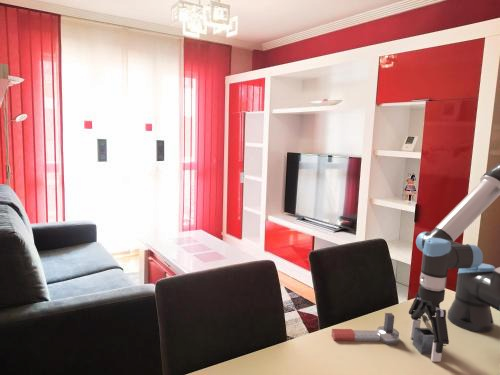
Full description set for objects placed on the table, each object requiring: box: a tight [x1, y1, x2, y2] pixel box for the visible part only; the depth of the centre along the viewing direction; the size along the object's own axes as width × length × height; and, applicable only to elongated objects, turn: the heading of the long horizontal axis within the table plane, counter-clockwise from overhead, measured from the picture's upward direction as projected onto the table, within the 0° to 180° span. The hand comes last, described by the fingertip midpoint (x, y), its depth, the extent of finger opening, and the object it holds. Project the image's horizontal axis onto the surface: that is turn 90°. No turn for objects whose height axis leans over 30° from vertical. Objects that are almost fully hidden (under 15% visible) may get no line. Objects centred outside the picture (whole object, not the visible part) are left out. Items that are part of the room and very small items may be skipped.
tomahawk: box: [421, 314, 447, 347], centre depth 135 cm, size 21×7×1 cm, turn 166°
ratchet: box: [330, 312, 400, 345], centre depth 127 cm, size 22×7×9 cm, turn 93°
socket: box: [412, 327, 439, 355], centre depth 122 cm, size 5×5×6 cm
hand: (424, 348), depth 122 cm, fingers open, 13 cm apart
